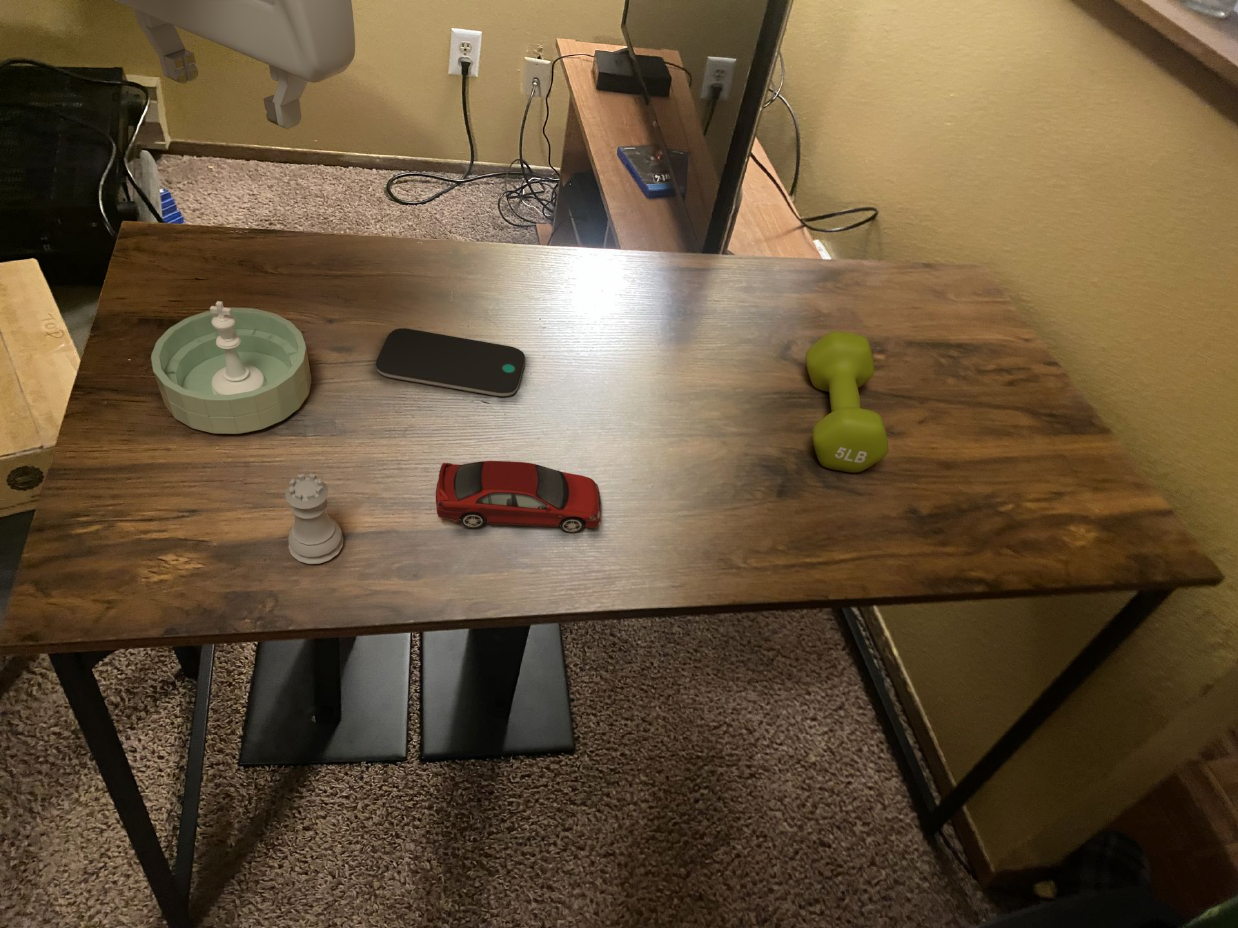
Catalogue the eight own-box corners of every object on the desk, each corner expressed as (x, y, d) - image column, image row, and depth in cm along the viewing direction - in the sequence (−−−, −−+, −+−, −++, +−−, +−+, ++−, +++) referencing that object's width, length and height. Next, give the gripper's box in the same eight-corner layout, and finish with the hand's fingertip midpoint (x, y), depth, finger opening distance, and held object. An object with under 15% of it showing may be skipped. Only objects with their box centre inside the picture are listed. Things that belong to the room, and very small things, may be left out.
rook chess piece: (286, 530, 72) (272, 469, 66) (340, 521, 74) (331, 460, 68) (292, 572, 70) (277, 511, 64) (347, 561, 71) (338, 501, 65)
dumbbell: (876, 484, 87) (903, 436, 82) (801, 470, 87) (824, 421, 82) (861, 382, 98) (885, 334, 93) (795, 369, 98) (815, 320, 93)
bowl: (173, 451, 76) (159, 412, 73) (157, 358, 84) (144, 318, 80) (324, 422, 81) (318, 384, 78) (297, 337, 89) (290, 299, 85)
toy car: (441, 481, 79) (440, 445, 75) (599, 496, 80) (606, 461, 77) (432, 527, 75) (431, 491, 71) (598, 542, 76) (605, 507, 73)
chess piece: (256, 405, 81) (237, 323, 74) (204, 399, 80) (179, 315, 73) (272, 372, 84) (256, 290, 77) (222, 365, 84) (200, 283, 76)
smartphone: (515, 394, 87) (371, 369, 86) (515, 400, 87) (372, 375, 87) (527, 348, 92) (391, 324, 91) (527, 354, 92) (392, 331, 92)
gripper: (11, -174, 49) (85, 65, 59) (283, -74, 45) (314, 167, 55) (104, -184, 53) (158, 41, 63) (362, -94, 49) (377, 134, 59)
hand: (232, 100), depth 59 cm, fingers open, 8 cm apart
